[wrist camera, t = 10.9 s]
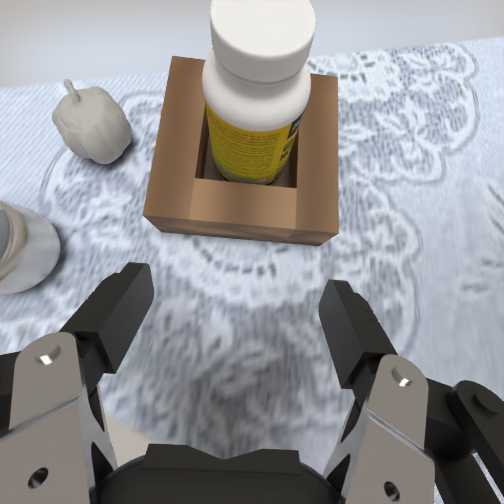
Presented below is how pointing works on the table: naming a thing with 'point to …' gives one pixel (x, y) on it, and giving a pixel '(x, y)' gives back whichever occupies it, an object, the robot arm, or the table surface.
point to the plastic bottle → (25, 248)
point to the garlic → (92, 124)
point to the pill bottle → (256, 85)
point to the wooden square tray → (242, 194)
